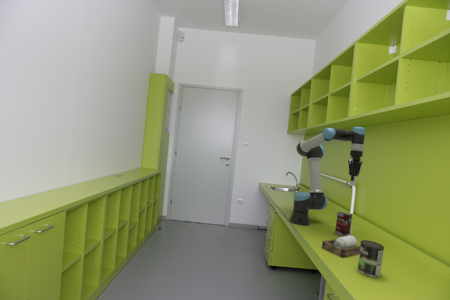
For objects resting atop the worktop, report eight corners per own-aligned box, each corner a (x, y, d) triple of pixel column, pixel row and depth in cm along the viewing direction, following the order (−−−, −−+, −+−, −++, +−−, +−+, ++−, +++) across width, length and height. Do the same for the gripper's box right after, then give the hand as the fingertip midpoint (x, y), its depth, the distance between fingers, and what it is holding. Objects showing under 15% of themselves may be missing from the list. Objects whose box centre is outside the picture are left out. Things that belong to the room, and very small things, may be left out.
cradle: (321, 247, 160) (322, 241, 160) (343, 243, 171) (343, 237, 171) (343, 257, 148) (343, 250, 148) (364, 252, 159) (365, 246, 159)
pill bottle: (355, 251, 162) (341, 255, 153) (343, 244, 168) (329, 247, 159) (359, 239, 160) (345, 243, 151) (347, 232, 166) (333, 235, 158)
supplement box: (334, 234, 190) (337, 211, 189) (338, 233, 193) (340, 211, 192) (346, 238, 183) (349, 215, 183) (350, 237, 186) (352, 214, 186)
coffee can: (365, 276, 128) (368, 247, 127) (353, 266, 138) (356, 239, 137) (385, 278, 128) (389, 249, 128) (372, 267, 139) (375, 240, 138)
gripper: (356, 150, 172) (352, 186, 173) (367, 151, 179) (363, 186, 180) (345, 149, 179) (341, 184, 179) (357, 150, 186) (353, 184, 186)
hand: (352, 185), depth 180 cm, fingers closed
